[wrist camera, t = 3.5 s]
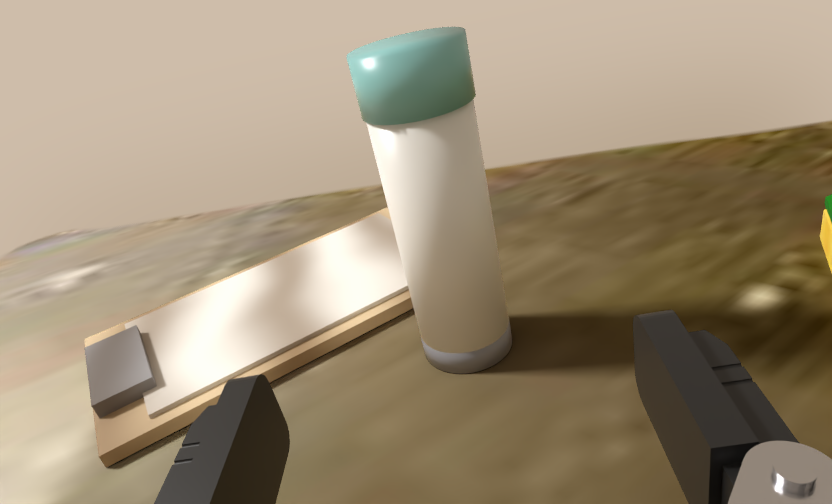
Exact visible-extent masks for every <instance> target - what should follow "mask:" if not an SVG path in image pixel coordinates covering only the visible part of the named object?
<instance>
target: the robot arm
mask: <svg viewBox="0 0 832 504" xmlns="http://www.w3.org/2000/svg"><path fill="white" fill-rule="evenodd" d="M633 335H634V359H635V376H636V382H637V387H638V391H639V394H640V397H641V400H642V402H643V405H644V407H645V409H646V411H647V414H648V416H649V418H650V420H651V422H652V424H653V427H654V429H655V431H656V433H657V435H658V437H659V440H660V442H661V444H662V446H663V448H664V451H665V453H666V455H667V457H668V459H669V461H670V464H671V466H672V468H673V470H674V472H675V475H676V477H677V479H678V481H679V483H680V485H681V488H682V490H683V492H684V494H685V496H686V498H687V501H688V503H689V504H832V460H831V459H830V458H829V457H828V456H826V455H825V454H823V453H821V452H820V451H818V450H816V449H814V448H811V447H809V446H806V445H803V444H800V443H799V442H798V441H797V439H796V438H795V437H794V435H793V434H792V433H791V431H790V430H789V428H788V427H787V426H786V424H785V423H784V422H783V420H782V419H781V417H780V416H779V415H778V413H777V412H776V411H775V409H774V408H773V406H772V405H771V404H770V402H769V401H768V400H767V398H766V397H765V395H764V394H763V393H762V391H761V390H760V389H759V387H758V386H757V384H756V383H755V382H753V381H752V378H751V376H750V375H749V373H748V372H747V371H746V369H745V368H744V367H742V366H741V362H740V361H739V360H738V358H737V357H736V356H735V354H734V353H733V351H732V350H731V349H730V347H729V346H728V345H727V344H726V343H724V342H723V341H721V340H720V339H718V338H717V337H715V336H714V335H712V334H710V333H709V332H707V331H706V330H701V331H695V332H688V331H687V330H686V328H685V327H684V325H683V324H682V322H681V321H680V319H679V318H678V316H677V315H676V313H675V312H674V311H673V310H666V311H660V312H654V313H647V314H641V315H635V316H634V319H633ZM289 444H290V439H289V430H288V426H287V423H286V421H285V418H284V416H283V414H282V411H281V409H280V407H279V404H278V402H277V400H276V397H275V395H274V393H273V390H272V388H271V386H270V383H269V381H268V379H267V378H266V376H265V375H263V374H260V375H253V376H247V377H241V378H235V379H230V380H228V381H227V382H226V384H225V386H224V389H223V391H222V393H221V395H220V398H219V400H218V402H217V405H211V406H208V407H207V408H206V409H205V410H204V411H203V412H202V413H201V414H200V416H199V417H198V418H197V419H196V420H195V421H194V422H193V423H192V424H191V426H190V428H189V430H188V433H187V435H186V437H185V439H184V441H183V443H182V448H180V450H179V452H178V454H177V456H176V458H175V460H174V462H175V464H174V465H172V467H171V469H170V471H169V473H168V475H167V477H166V479H165V481H164V484H163V486H162V488H161V490H160V492H159V494H158V496H157V499H156V501H155V503H154V504H275V503H276V499H277V495H278V491H279V488H280V484H281V480H282V476H283V472H284V468H285V464H286V461H287V457H288V453H289Z"/></svg>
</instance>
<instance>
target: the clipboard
mask: <svg viewBox="0 0 832 504" xmlns="http://www.w3.org/2000/svg"><path fill="white" fill-rule="evenodd" d="M411 309H413V304H412V300H411V296H410V292H409V288H408V284H407V280H406V276H405V272H404V268H403V264H402V260H401V257H400V253H399V249H398V245H397V241H396V237H395V233H394V229H393V225H392V221H391V217H390V213H389V209H388V207H387V208H385V209H382V210H380V211H378V212H375V213H373V214H371V215H368V216H366V217H364V218H362V219H359V220H357V221H355V222H352V223H350V224H348V225H346V226H343V227H341V228H339V229H336V230H334V231H332V232H329V233H327V234H325V235H323V236H320V237H318V238H316V239H313V240H311V241H309V242H306V243H304V244H302V245H300V246H297V247H295V248H293V249H290V250H288V251H286V252H284V253H281V254H279V255H277V256H274V257H272V258H270V259H267V260H265V261H263V262H261V263H258V264H256V265H254V266H251V267H249V268H247V269H244V270H242V271H240V272H238V273H235V274H233V275H231V276H228V277H226V278H224V279H222V280H219V281H217V282H215V283H212V284H210V285H208V286H205V287H203V288H201V289H199V290H196V291H194V292H192V293H189V294H187V295H185V296H182V297H180V298H178V299H176V300H173V301H171V302H169V303H166V304H164V305H162V306H160V307H157V308H155V309H153V310H150V311H148V312H146V313H143V314H141V315H139V316H137V317H134V318H132V319H130V320H127V321H125V322H123V323H120V324H118V325H116V326H114V327H111V328H109V329H107V330H104V331H102V332H100V333H98V334H95V335H93V336H91V337H88V338H86V339H84V340H85V355H86V364H87V372H88V380H89V389H90V397H91V405H92V407H93V414H94V422H95V430H96V438H97V446H98V454H99V458H100V459H101V461H102V462H103V464H104V465H105V467H108V466H110V465H112V464H114V463H116V462H118V461H120V460H122V459H124V458H126V457H128V456H129V455H131V454H133V453H135V452H137V451H139V450H141V449H143V448H145V447H147V446H149V445H151V444H153V443H154V442H156V441H158V440H160V439H162V438H164V437H166V436H168V435H170V434H172V433H174V432H176V431H178V430H180V429H181V428H183V427H185V426H187V425H189V424H191V423H193V422H194V421H195V420H196V419H197V418H198V417H199V416H200V414H201V413H202V412H203V411H204V410H205V409H206V408H207V407H208V406H211V405H217V402H218V400H219V398H220V395H221V393H222V391H223V389H224V386H225V384H226V382H227V381H228V380H230V379H235V378H241V377H247V376H253V375H260V374H263V375H265V376H266V378H267V379H268V381H269V383H270V382H272V381H274V380H276V379H278V378H280V377H282V376H283V375H285V374H287V373H289V372H291V371H293V370H295V369H297V368H299V367H301V366H303V365H305V364H307V363H309V362H310V361H312V360H314V359H316V358H318V357H320V356H322V355H324V354H326V353H328V352H330V351H332V350H334V349H335V348H337V347H339V346H341V345H343V344H345V343H347V342H349V341H351V340H353V339H355V338H357V337H359V336H361V335H362V334H364V333H366V332H368V331H370V330H372V329H374V328H376V327H378V326H380V325H382V324H384V323H386V322H387V321H389V320H391V319H393V318H395V317H397V316H399V315H401V314H403V313H405V312H407V311H409V310H411Z"/></svg>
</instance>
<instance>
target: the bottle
mask: <svg viewBox="0 0 832 504" xmlns="http://www.w3.org/2000/svg"><path fill="white" fill-rule="evenodd" d="M347 61H348V65H349V69H350V73H351V76H352V80H353V84H354V88H355V92H356V96H357V100H358V103H359V107H360V111H361V115H362V119H363V121H365V122H366V123H367V127H368V130H369V134H370V138H371V142H372V146H373V150H374V154H375V158H376V162H377V166H378V170H379V174H380V178H381V182H382V186H383V190H384V194H385V197H386V201H387V205H388V209H389V213H390V217H391V221H392V225H393V229H394V233H395V237H396V241H397V245H398V249H399V253H400V257H401V260H402V264H403V268H404V272H405V276H406V280H407V284H408V288H409V292H410V296H411V300H412V304H413V308H414V312H415V316H416V320H417V323H418V327H419V331H420V335H421V339H422V343H423V347H424V351H425V355H426V358H427V360H428V361H429V362H430V363H431V364H432V365H433V366H434V367H436V368H437V369H439V370H442V371H445V372H449V373H456V374H465V373H473V372H478V371H481V370H485V369H487V368H489V367H491V366H493V365H495V364H497V363H498V362H500V361H501V360H502V359H503V358H504V357H505V356H506V355H507V354H508V352H509V351H510V349H511V346H512V334H511V328H510V322H509V316H508V310H507V303H506V297H505V291H504V285H503V279H502V273H501V267H500V260H499V254H498V248H497V242H496V236H495V230H494V224H493V218H492V211H491V205H490V199H489V193H488V187H487V181H486V175H485V168H484V162H483V156H482V150H481V145H480V138H479V132H478V125H477V120H476V113H475V107H474V101H473V99H474V97H475V95H476V94H475V88H474V82H473V75H472V69H471V63H470V57H469V50H468V44H467V38H466V32H465V29H464V28H461V27H442V28H433V29H427V30H422V31H416V32H411V33H406V34H402V35H398V36H394V37H390V38H386V39H383V40H379V41H376V42H373V43H370V44H368V45H365V46H362V47H360V48H357V49H355V50H353V51H352V52H350V53H349V54H348V55H347Z"/></svg>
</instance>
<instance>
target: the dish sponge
mask: <svg viewBox="0 0 832 504" xmlns="http://www.w3.org/2000/svg"><path fill="white" fill-rule="evenodd" d="M825 206H826V209H825V210H824V212H823V219H822V226H821V233H820V239H821V242H822V245H823V248H824V251H825V254H826V257H827V260H828V263H829V266H830V269H831V272H832V194H831V195H829V196H827V197H826V198H825Z"/></svg>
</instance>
